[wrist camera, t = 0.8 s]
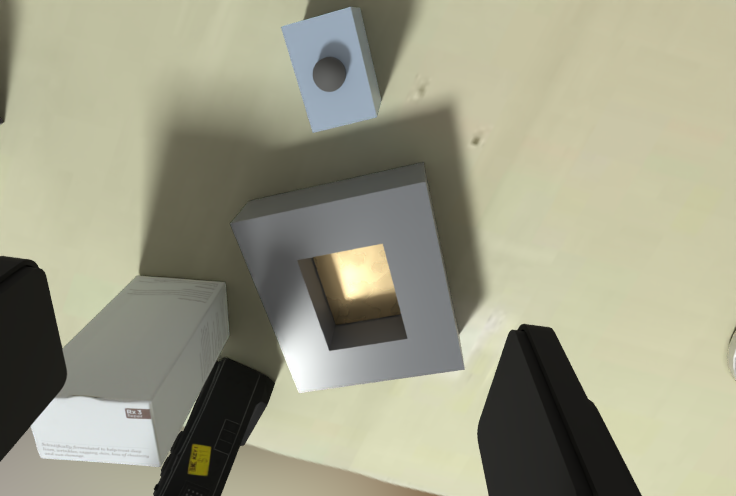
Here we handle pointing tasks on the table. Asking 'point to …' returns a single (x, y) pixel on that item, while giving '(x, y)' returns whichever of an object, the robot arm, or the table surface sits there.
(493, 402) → the robot arm
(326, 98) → the plug
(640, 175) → the table surface
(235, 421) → the portable radio
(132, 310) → the skincare box
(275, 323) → the socket block
